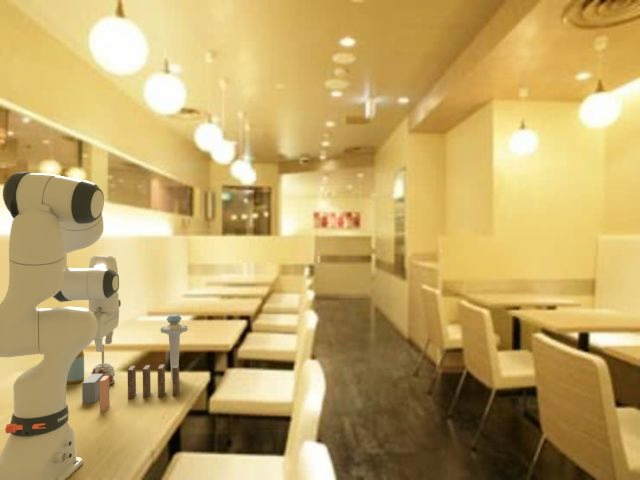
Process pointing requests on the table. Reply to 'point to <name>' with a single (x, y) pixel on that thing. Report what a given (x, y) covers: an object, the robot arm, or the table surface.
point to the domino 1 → (104, 393)
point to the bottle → (76, 370)
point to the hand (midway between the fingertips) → (104, 347)
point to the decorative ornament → (105, 369)
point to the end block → (91, 388)
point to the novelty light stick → (174, 337)
